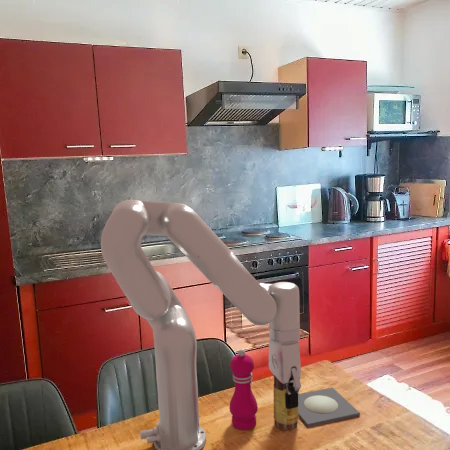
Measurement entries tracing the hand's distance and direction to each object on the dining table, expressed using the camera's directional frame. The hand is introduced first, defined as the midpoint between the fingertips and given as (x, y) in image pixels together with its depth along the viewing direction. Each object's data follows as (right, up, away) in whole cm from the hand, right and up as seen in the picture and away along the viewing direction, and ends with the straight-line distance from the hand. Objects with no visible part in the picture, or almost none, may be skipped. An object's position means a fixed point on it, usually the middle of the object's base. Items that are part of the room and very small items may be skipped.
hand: (285, 399), depth 113 cm
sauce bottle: (0, -7, +1) cm, 7 cm away
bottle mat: (+11, -5, +8) cm, 14 cm away
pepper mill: (-10, -7, +2) cm, 13 cm away
